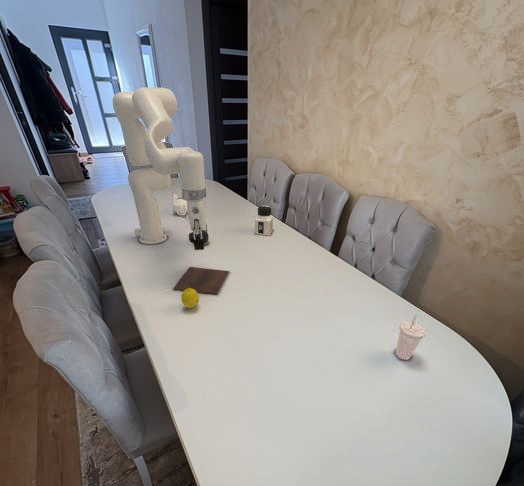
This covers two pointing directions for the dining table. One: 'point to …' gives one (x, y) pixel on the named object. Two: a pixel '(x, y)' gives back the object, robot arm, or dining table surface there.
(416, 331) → the smoothie
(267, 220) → the container
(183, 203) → the teapot
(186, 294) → the fruit
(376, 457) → the dining table surface
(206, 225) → the jar
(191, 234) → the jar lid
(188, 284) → the placemat
